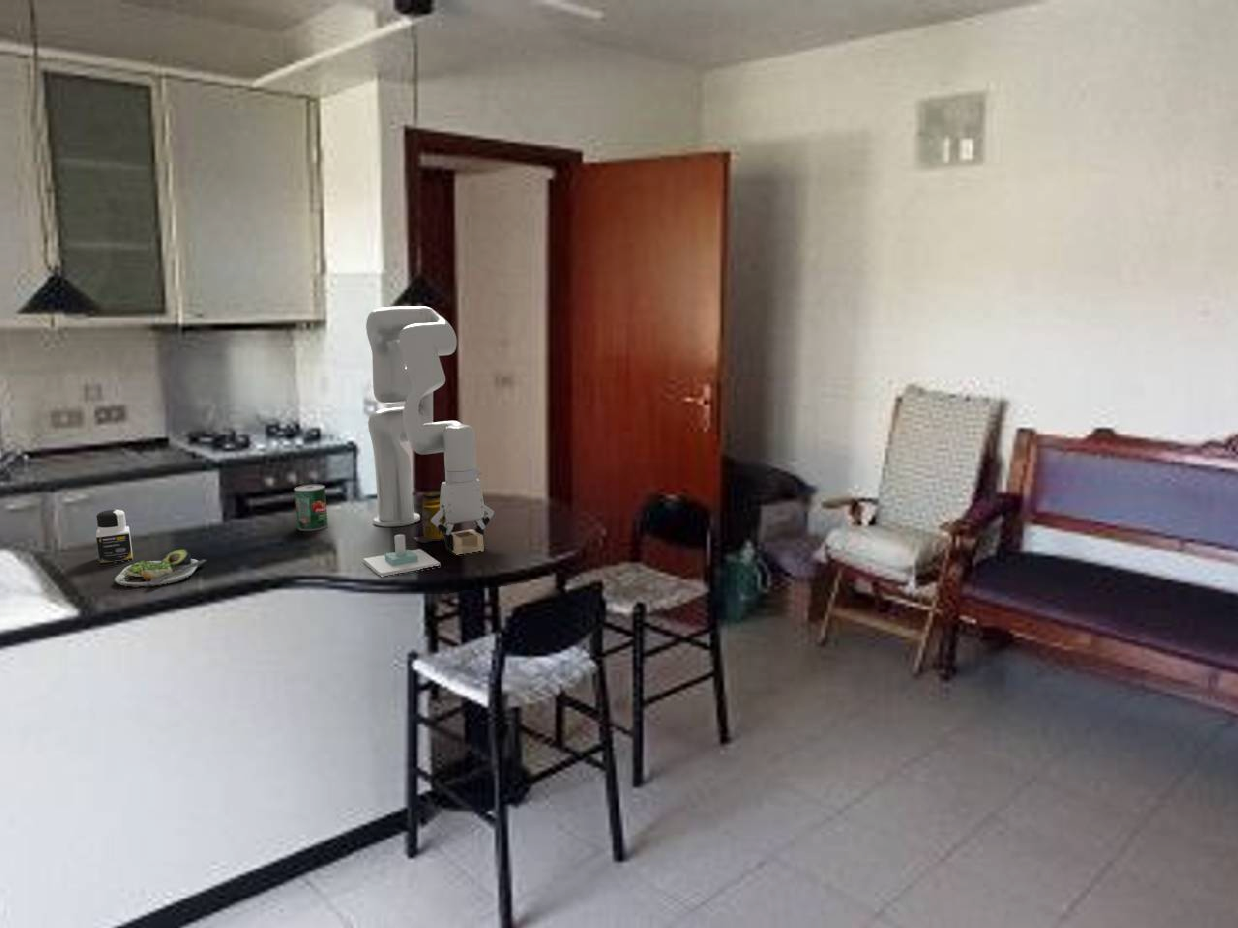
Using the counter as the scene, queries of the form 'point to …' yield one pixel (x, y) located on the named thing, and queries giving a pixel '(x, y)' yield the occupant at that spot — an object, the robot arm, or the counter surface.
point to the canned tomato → (311, 507)
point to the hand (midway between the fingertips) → (464, 546)
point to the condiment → (431, 515)
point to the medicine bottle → (113, 536)
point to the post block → (400, 560)
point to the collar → (467, 542)
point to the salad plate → (161, 570)
